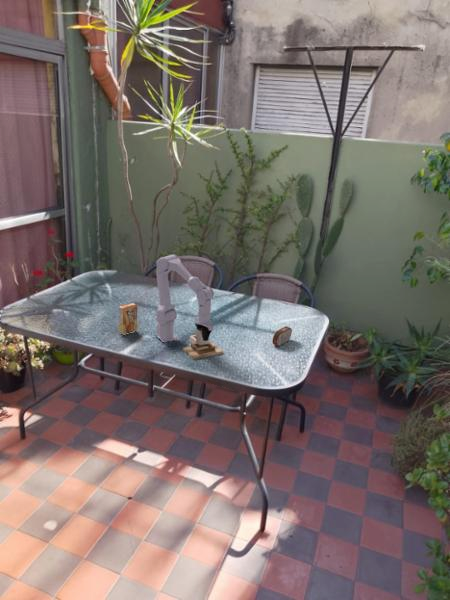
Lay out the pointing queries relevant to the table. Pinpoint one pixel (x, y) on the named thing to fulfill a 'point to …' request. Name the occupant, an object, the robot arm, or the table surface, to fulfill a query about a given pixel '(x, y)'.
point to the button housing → (193, 339)
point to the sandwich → (282, 336)
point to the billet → (200, 337)
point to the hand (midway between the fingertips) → (203, 338)
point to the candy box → (128, 318)
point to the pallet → (202, 350)
